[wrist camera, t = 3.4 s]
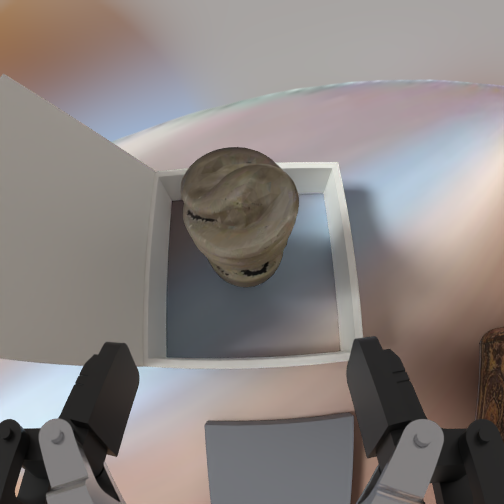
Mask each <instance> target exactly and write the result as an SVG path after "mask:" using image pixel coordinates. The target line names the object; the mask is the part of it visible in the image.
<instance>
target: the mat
mask: <svg viewBox="0 0 504 504" xmlns="http://www.w3.org/2000/svg"><path fill="white" fill-rule="evenodd" d="M205 440H206V454H207V466H208V478H209V489H210V499H211V504H350V500H351V487H352V471H353V445H354V416H353V415H352V414H351V413H349V412H348V413H341V414H334V415H326V416H317V417H308V418H297V419H284V420H265V421H207V422H206V424H205Z"/></svg>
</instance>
